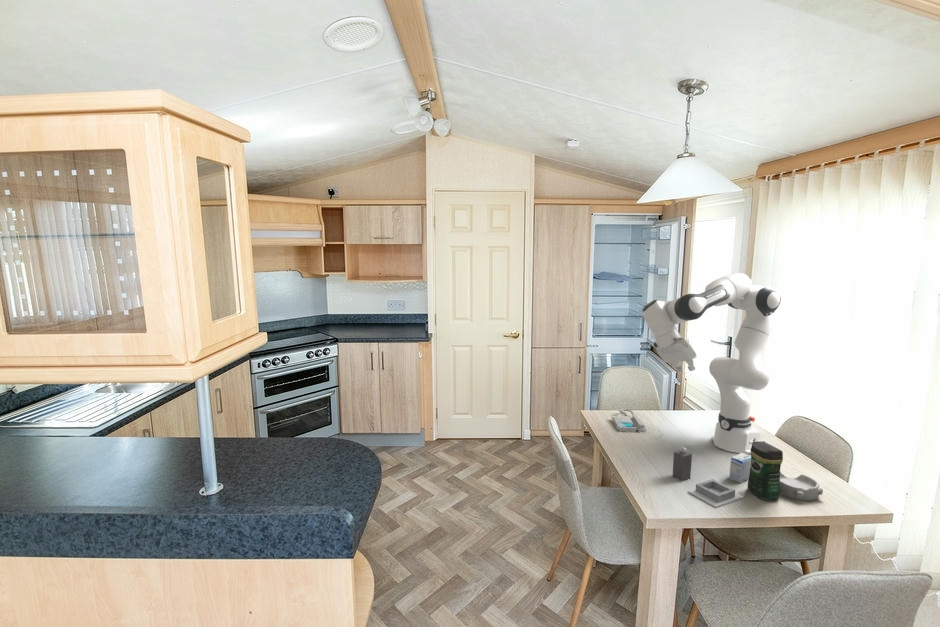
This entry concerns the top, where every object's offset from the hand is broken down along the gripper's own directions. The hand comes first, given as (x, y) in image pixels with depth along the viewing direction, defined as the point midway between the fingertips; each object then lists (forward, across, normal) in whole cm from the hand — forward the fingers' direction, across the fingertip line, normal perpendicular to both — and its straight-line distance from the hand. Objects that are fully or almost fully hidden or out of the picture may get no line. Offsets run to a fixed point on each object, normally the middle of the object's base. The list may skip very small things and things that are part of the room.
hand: (686, 370), depth 179 cm
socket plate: (+40, -11, +19) cm, 46 cm away
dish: (+53, -11, -8) cm, 55 cm away
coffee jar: (+48, -12, +4) cm, 49 cm away
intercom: (+21, +56, +14) cm, 61 cm away
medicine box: (+45, 0, +3) cm, 45 cm away
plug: (+34, +1, +22) cm, 41 cm away
